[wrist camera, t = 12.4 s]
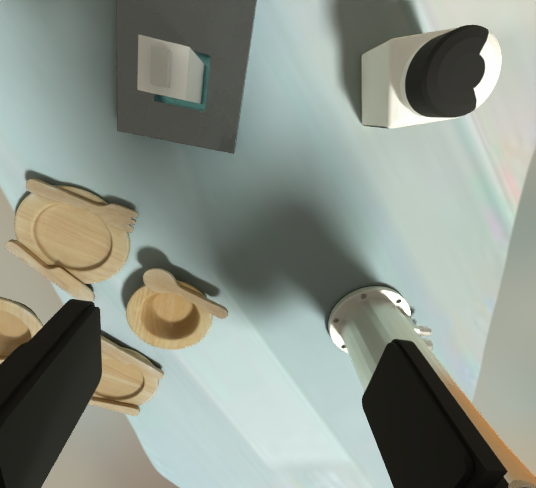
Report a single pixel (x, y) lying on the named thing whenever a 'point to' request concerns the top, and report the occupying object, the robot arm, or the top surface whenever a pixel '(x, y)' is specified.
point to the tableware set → (96, 270)
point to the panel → (210, 53)
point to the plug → (169, 70)
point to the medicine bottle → (429, 76)
